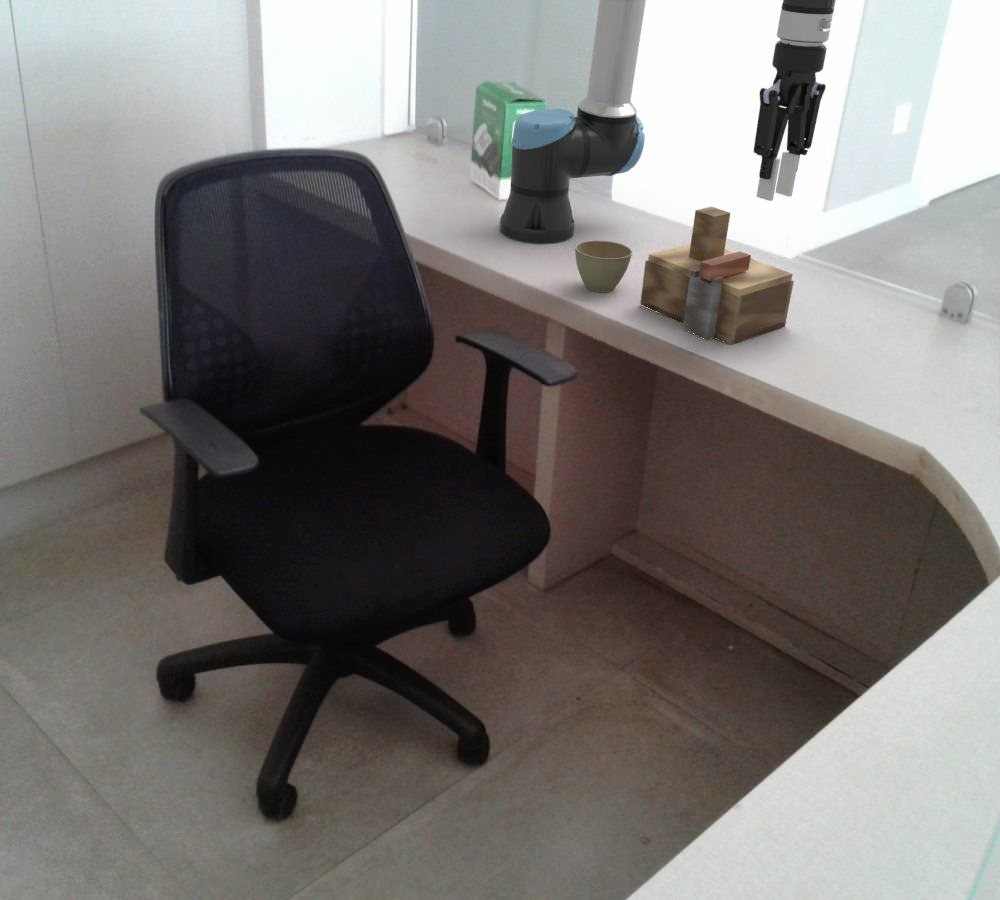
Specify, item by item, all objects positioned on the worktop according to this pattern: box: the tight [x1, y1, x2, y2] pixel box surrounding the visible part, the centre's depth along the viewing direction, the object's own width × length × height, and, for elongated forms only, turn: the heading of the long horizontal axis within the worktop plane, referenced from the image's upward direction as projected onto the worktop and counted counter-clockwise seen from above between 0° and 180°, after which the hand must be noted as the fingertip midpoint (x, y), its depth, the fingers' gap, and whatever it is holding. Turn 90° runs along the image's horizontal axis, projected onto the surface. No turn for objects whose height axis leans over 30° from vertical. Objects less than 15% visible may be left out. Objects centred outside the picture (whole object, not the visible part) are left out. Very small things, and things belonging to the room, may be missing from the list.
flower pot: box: [574, 240, 633, 293], centre depth 185 cm, size 10×10×7 cm
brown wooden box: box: [640, 259, 795, 346], centre depth 174 cm, size 20×16×10 cm
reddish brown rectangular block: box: [699, 251, 752, 281], centre depth 167 cm, size 2×10×2 cm, turn 129°
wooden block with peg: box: [647, 206, 793, 297], centre depth 171 cm, size 19×13×9 cm
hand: (774, 196), depth 168 cm, fingers open, 4 cm apart
